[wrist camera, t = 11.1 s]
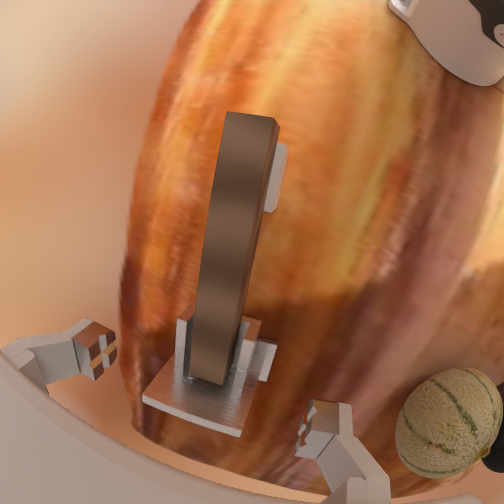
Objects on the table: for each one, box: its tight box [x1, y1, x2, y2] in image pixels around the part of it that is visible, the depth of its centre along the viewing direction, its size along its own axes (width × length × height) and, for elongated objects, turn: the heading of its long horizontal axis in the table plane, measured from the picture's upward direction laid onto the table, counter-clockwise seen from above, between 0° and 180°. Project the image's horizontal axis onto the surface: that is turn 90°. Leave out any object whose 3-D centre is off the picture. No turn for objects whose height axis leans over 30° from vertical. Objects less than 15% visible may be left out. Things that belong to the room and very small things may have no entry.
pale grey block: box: [264, 143, 289, 213], centre depth 25 cm, size 6×5×4 cm
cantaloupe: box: [395, 367, 503, 479], centre depth 22 cm, size 15×15×15 cm
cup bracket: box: [142, 301, 278, 437], centre depth 27 cm, size 10×12×12 cm
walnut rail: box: [189, 112, 280, 385], centre depth 24 cm, size 24×4×4 cm, turn 169°
